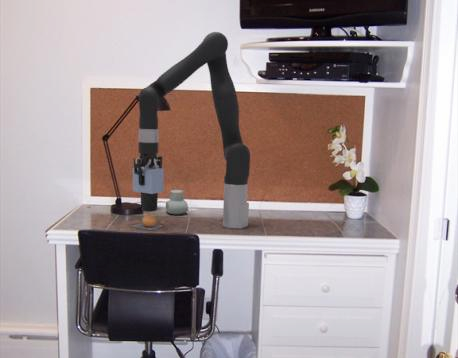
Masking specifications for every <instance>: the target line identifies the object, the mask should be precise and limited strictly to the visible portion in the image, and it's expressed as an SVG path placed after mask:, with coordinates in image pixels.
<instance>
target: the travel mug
mask: <svg viewBox="0 0 458 358" xmlns="http://www.w3.org/2000/svg"><path fill="white" fill-rule="evenodd" d="M158 194H159V193H154V194H149V193H142V192H140V207H141V206H143V210H144V211H143V212H156V211H157V210H158V197H159V196H158Z"/></svg>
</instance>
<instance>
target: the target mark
mask: <svg viewBox="0 0 458 358" xmlns="http://www.w3.org/2000/svg"><path fill="white" fill-rule="evenodd" d="M131 227H132V228H136V229H142V230H146V231H154V230H155V231H156V230H158V229H160V228H161V229H162V228H164V227H165V225H162V224H161V225H160V224H156V223H155V224H154V225H153V226H152V227H146V226H145V225H144V224H143V222H142V223H137V224H133V225H131Z"/></svg>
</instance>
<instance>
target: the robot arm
mask: <svg viewBox="0 0 458 358" xmlns="http://www.w3.org/2000/svg"><path fill="white" fill-rule="evenodd" d="M228 43H229V41H228V38H227V37H226V35H224V34H223V33H222V32H220V31H219V32H218V31H213V32H210V33H208V34H207V35H206V36H205V37H204V38H203V39H202V42H200V43H199V45H197V47H196V48H195V49H194V50H193V51H192V52H190V53H189V54H188V55H187V56H184V58H183V59H181V60H180V61H178V62H177V63H175V64H173V66H171V67H170V68H168V69H167V70H166V71H164V72H163V73H162V74H161V75H160V76H159V77H158V78H157V79H156V80H154V81H153V82H152V83H150V84H149V85H148V86H146V87H144V88H143V89H141V90H140V92H139V94H138V107H139V108H138V109H139V121H138V123H139V124H138V125H139V126H138V129H139V130H138V154H139V155H140V156H139V158H138V157H137V158H136V157H135V158H133V168H134V173H135V174H137V175H138V176H139V185H141V186H144V185H145V176H144V175H145V170H148V168H160V169H163V168H162V167H163V156H160V155H157V154H159V141H160V140H159V137H160V136H159V115H158V108H159V106H158V105H159V102H160V101H161V100H162V99H163V98H164V97H165V96H166V95H167V94H169V93H171V92H172V91H175V89H177V88H178V87H180V85H182V84H183V83H184V82H186V80H188V79H189V78H190V77H191V76H192V75H193V74H194V73H196V72H197V71H198V70H200V68H202V67H203V66H204V65H206V64H207V68H208V72H209V79H210V88H211V95H212V101H213V105H214V109H215V110H214V111H215V113H216V114H215V115H216V118H217V122H218V125H219V128H220V132H221V139H222V149H223V157H224V159H225V162H226V164H225V166H226V167H225V175H224V177H223V179H224V181H223V209H222V210H223V211H222V216H223V218H222V226H223V227H225V228H228V229H239V230H241V229H245V228H247V227H249V213H250V209H249V208H250V202H248V185H249V184H248V183H249V182H248V181H249V177H250V169H251V168H250V167H251V153H250V150H249V148H248V146H246V145H245V144H244V142H243V139H242V135H241V131H240V106H239V101H238V96H237V91H236V87H235V84H234V81H233V78H232V77H231V74H230V72H229V71H230V70H229V67H228V61H227V50H228V46H229V44H228ZM137 168H138V171H137ZM141 169H143V171H142V172H141Z"/></svg>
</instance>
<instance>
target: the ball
mask: <svg viewBox="0 0 458 358" xmlns="http://www.w3.org/2000/svg"><path fill="white" fill-rule="evenodd" d="M156 220H157V219H156V217H155V216H154V215H153V214H151V213H150V214H149V213H148V214H145V215H144V216H143V217H142V223H143V224H144V225H145V226H146V227H152V226H153V225H154V224H156Z"/></svg>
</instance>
